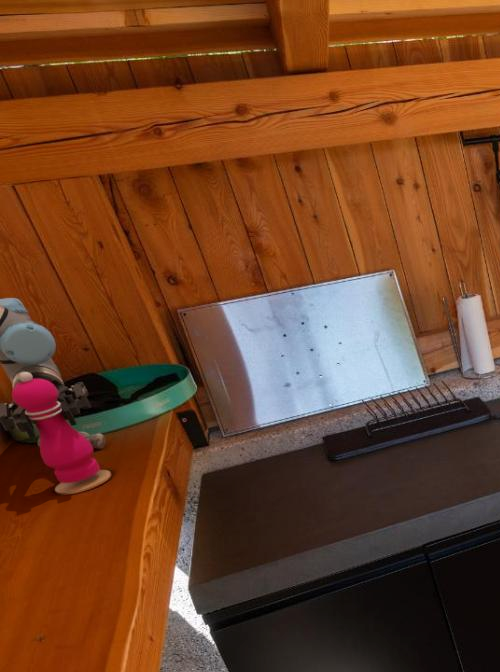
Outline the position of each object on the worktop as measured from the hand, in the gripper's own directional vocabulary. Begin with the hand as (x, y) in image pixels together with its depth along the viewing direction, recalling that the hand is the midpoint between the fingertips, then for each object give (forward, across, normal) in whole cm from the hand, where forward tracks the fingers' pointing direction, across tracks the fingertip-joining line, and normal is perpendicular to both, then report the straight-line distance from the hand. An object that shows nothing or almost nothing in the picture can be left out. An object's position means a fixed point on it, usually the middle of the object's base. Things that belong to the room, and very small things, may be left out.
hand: (49, 423), depth 128 cm
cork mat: (-5, 0, -14) cm, 14 cm away
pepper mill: (-5, 0, -12) cm, 13 cm away
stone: (-24, 0, -13) cm, 27 cm away
